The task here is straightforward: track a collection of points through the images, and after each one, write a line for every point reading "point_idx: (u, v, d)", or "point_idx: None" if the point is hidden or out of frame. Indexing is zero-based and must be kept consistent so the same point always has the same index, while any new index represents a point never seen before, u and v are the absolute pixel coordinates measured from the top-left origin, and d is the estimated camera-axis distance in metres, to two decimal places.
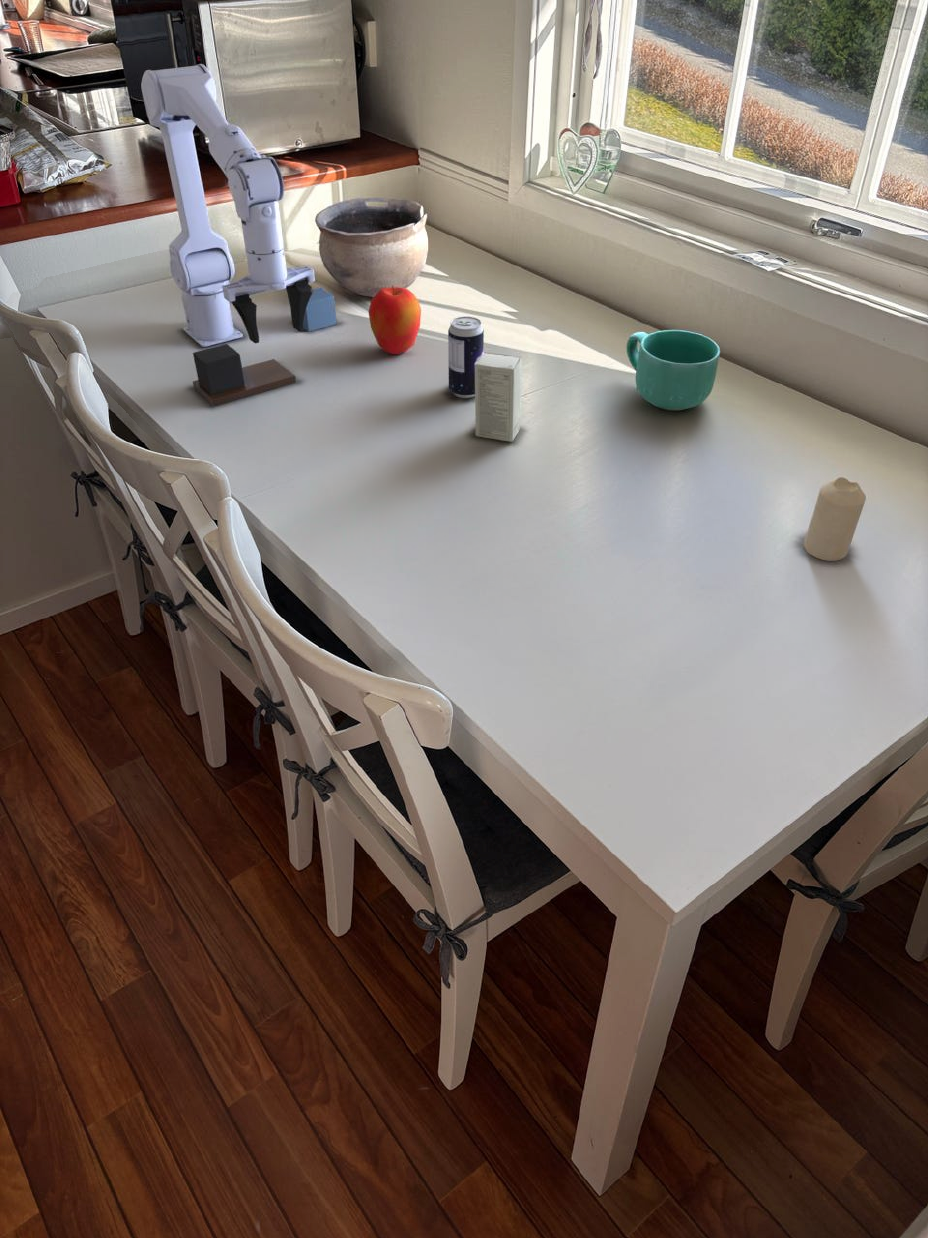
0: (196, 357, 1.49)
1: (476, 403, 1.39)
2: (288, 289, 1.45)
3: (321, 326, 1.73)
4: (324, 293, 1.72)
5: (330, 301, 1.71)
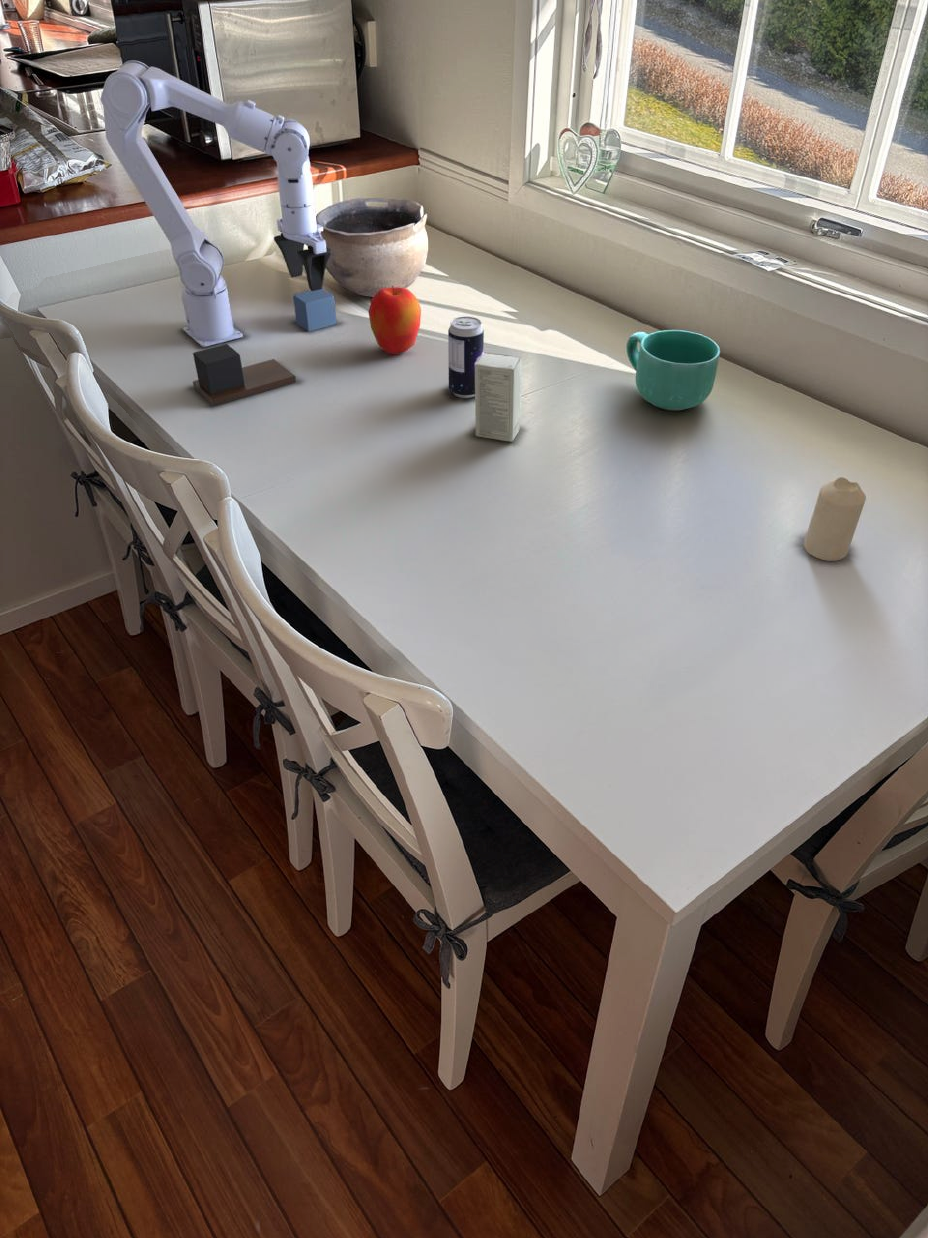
0: (196, 357, 1.49)
1: (476, 403, 1.39)
2: (285, 243, 1.63)
3: (321, 326, 1.73)
4: (324, 293, 1.72)
5: (330, 301, 1.71)
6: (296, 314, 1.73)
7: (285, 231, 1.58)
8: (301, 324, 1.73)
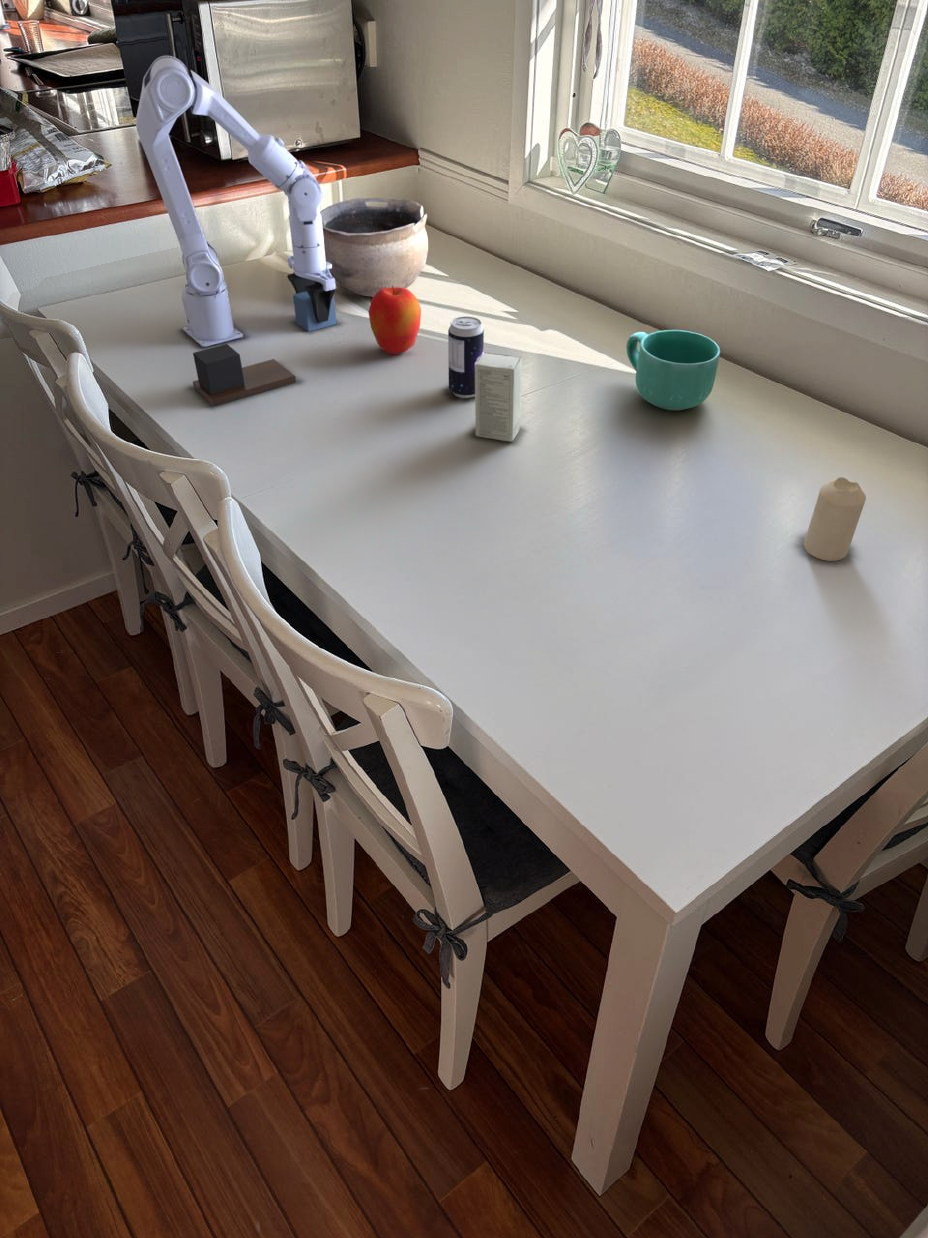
0: (196, 357, 1.49)
1: (476, 403, 1.39)
2: (298, 281, 1.71)
3: (321, 326, 1.73)
4: None
5: None
6: (296, 314, 1.73)
7: (296, 269, 1.67)
8: (301, 324, 1.73)
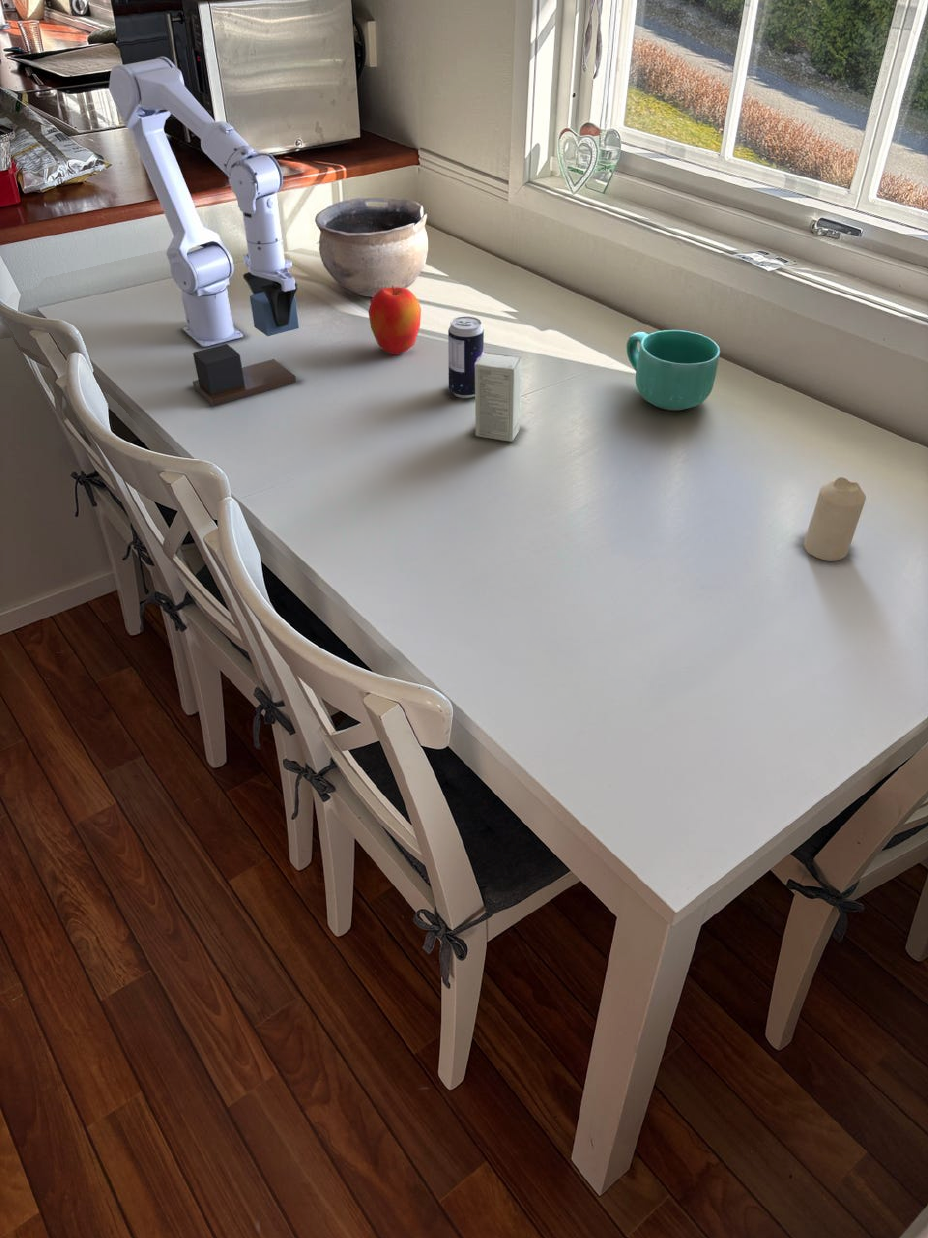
0: (196, 357, 1.49)
1: (476, 403, 1.39)
2: (255, 281, 1.55)
3: (281, 330, 1.57)
4: None
5: None
6: (254, 317, 1.58)
7: (252, 267, 1.51)
8: (259, 328, 1.57)
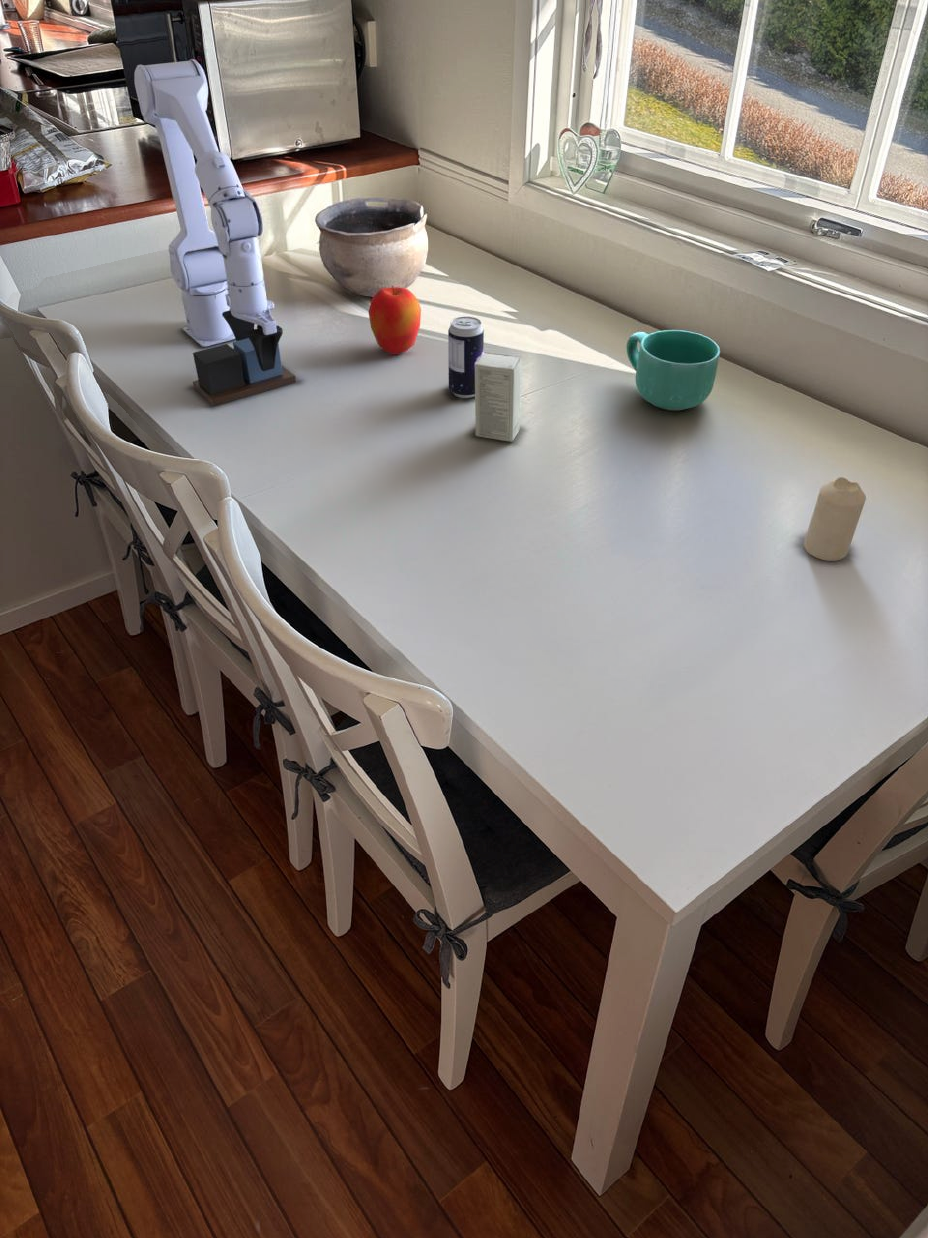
0: (196, 357, 1.49)
1: (476, 403, 1.39)
2: (234, 320, 1.52)
3: (265, 377, 1.54)
4: None
5: None
6: None
7: (233, 309, 1.47)
8: None
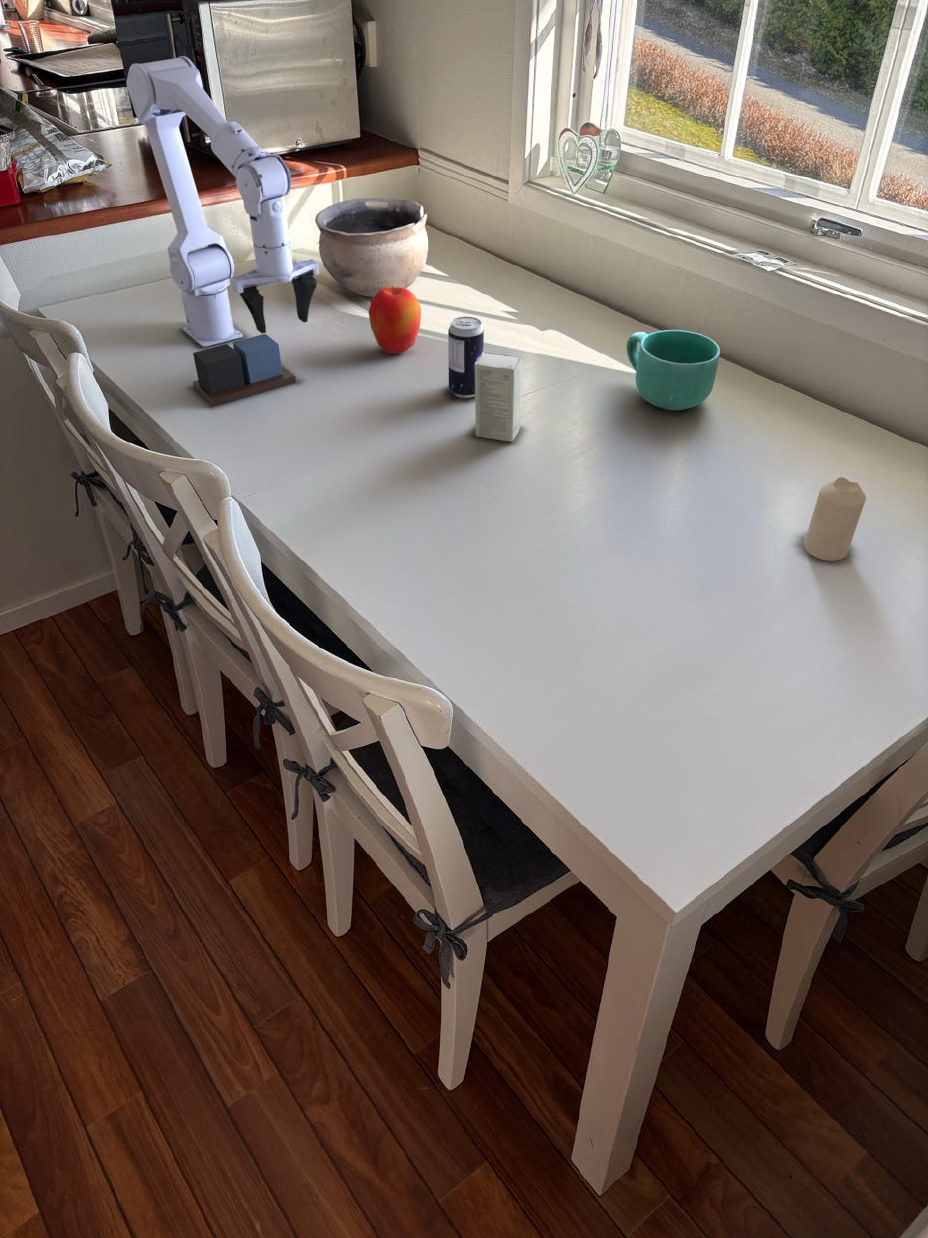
0: (196, 357, 1.49)
1: (476, 403, 1.39)
2: (294, 282, 1.52)
3: (265, 377, 1.54)
4: (268, 341, 1.53)
5: (274, 350, 1.53)
6: None
7: None
8: None
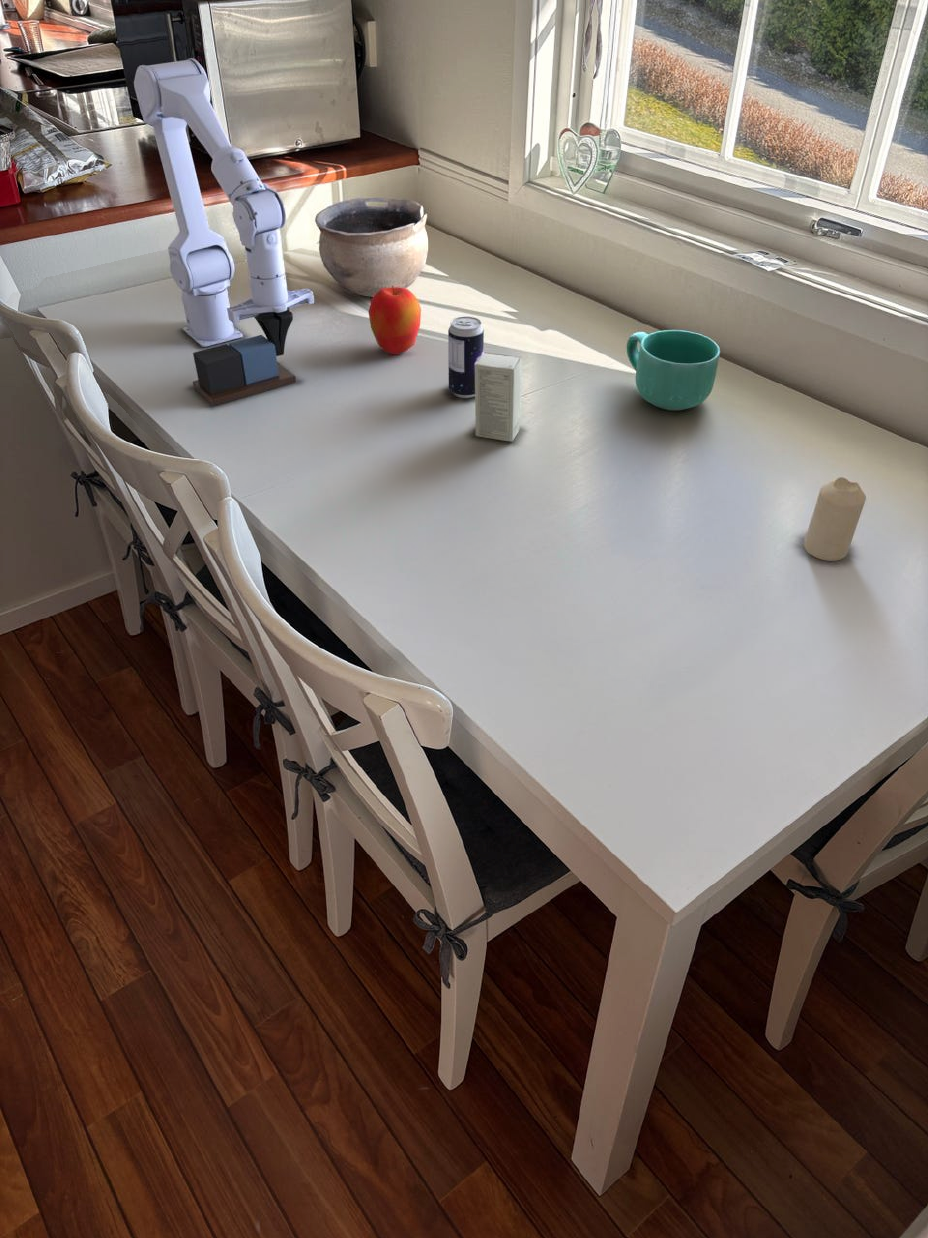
0: (196, 357, 1.49)
1: (476, 403, 1.39)
2: None
3: (261, 378, 1.54)
4: (264, 342, 1.53)
5: (270, 351, 1.52)
6: None
7: None
8: None
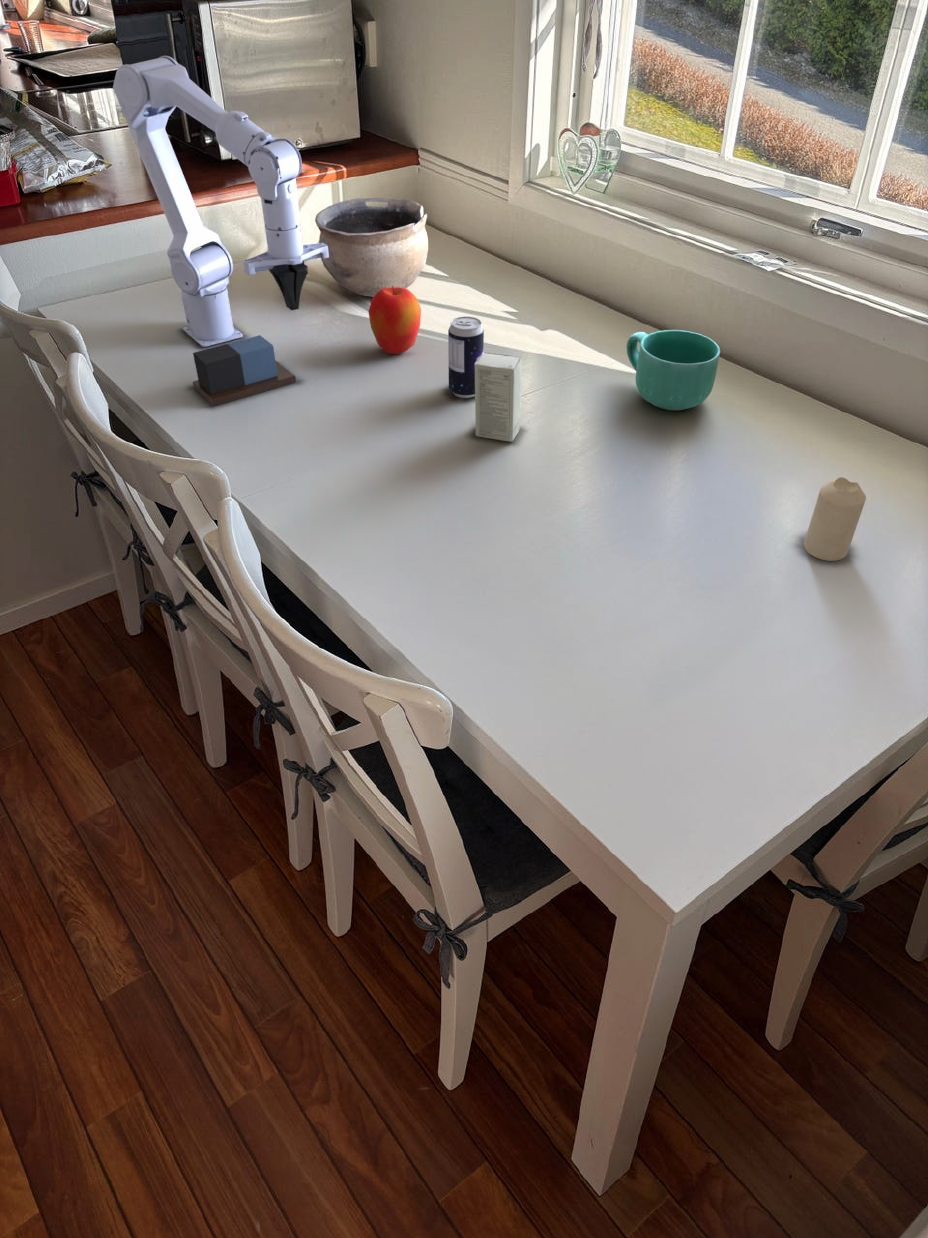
0: (196, 357, 1.49)
1: (476, 403, 1.39)
2: None
3: (260, 379, 1.54)
4: (262, 342, 1.53)
5: (269, 351, 1.52)
6: None
7: None
8: None
